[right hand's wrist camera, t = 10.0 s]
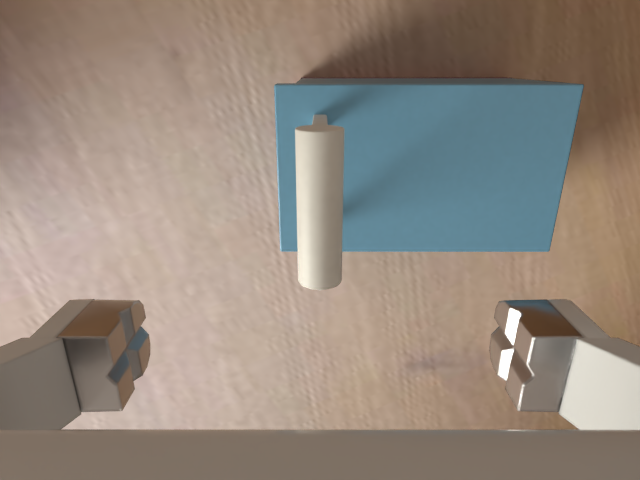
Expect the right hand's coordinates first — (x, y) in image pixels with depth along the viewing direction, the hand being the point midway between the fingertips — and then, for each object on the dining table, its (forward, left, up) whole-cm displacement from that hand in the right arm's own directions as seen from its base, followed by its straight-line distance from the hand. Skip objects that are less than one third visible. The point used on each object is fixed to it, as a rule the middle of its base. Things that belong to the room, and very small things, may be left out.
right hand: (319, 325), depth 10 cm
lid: (+3, +4, -16) cm, 17 cm away
